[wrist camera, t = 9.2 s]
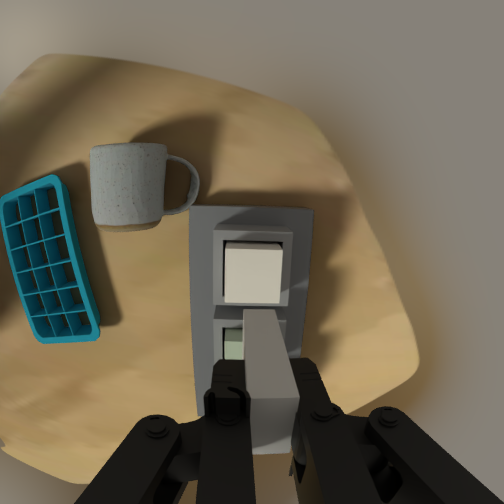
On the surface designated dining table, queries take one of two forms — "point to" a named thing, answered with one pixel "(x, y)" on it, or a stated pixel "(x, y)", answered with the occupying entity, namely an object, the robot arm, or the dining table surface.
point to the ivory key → (252, 271)
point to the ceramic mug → (133, 185)
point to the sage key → (233, 343)
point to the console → (213, 277)
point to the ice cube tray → (48, 264)
